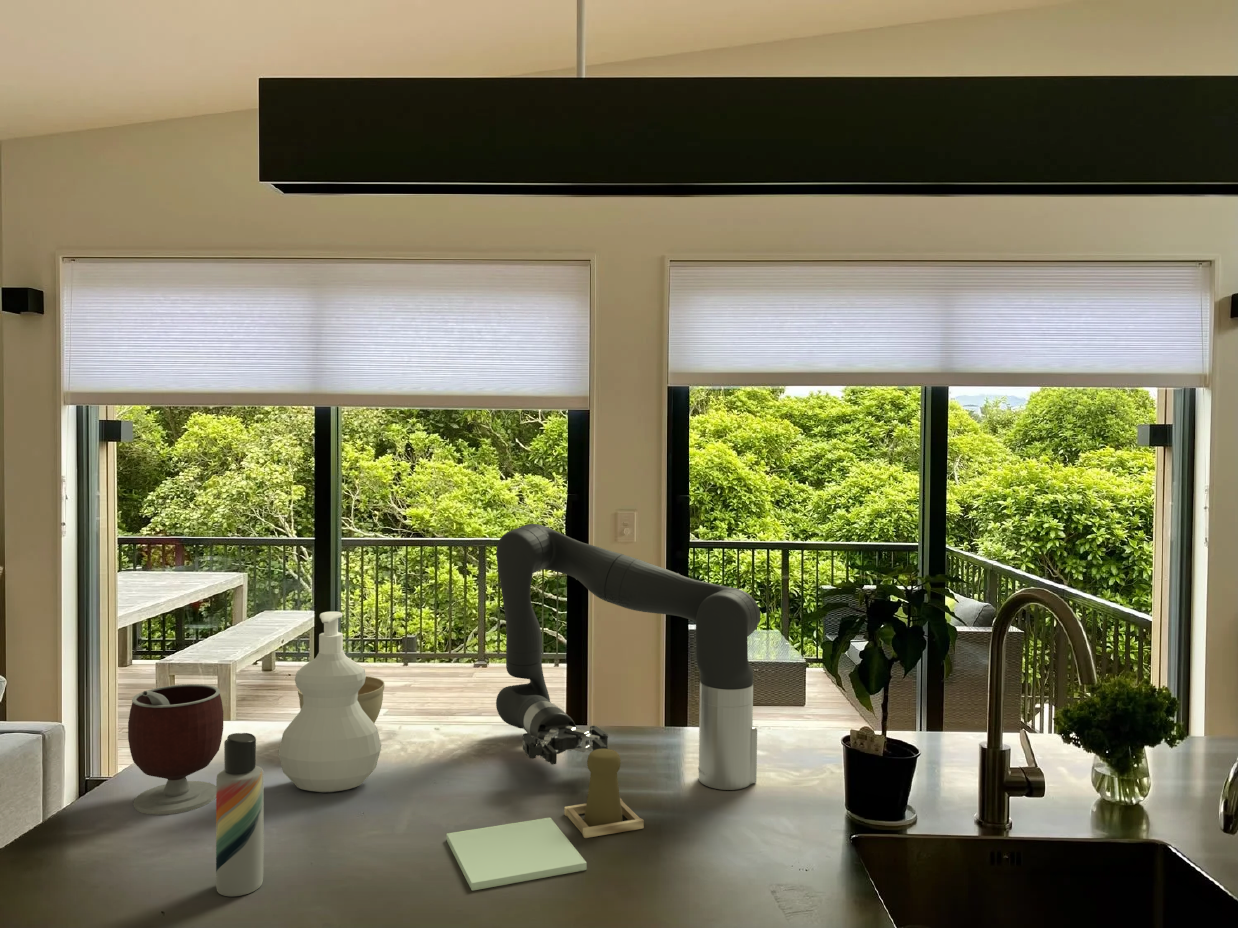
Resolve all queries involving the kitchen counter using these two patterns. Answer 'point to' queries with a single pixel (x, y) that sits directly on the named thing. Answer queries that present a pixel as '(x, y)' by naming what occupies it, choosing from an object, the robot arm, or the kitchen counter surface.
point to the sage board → (514, 853)
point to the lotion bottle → (239, 818)
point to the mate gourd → (175, 744)
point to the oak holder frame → (606, 828)
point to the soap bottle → (330, 721)
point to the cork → (603, 788)
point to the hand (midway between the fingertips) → (579, 755)
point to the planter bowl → (366, 697)
